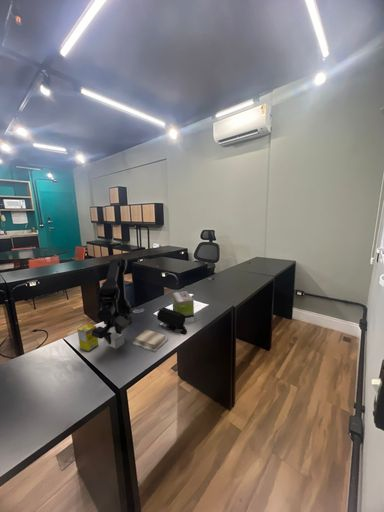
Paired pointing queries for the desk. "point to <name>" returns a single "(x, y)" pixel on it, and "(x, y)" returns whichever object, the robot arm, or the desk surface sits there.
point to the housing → (115, 340)
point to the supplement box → (87, 338)
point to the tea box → (184, 305)
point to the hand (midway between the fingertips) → (114, 341)
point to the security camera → (172, 319)
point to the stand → (150, 340)
